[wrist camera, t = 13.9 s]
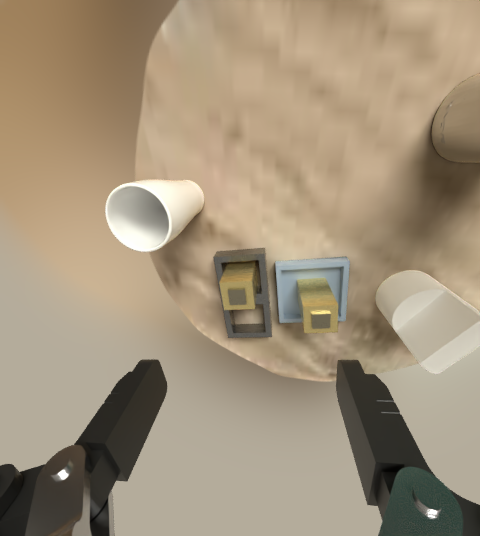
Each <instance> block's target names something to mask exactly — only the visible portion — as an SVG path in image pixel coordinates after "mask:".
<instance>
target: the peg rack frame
mask: <svg viewBox="0 0 480 536" xmlns="http://www.w3.org/2000/svg"><path fill="white" fill-rule="evenodd" d="M252 260H259V268H260V278H261V286H260V287H257V295H256V304H263V308H264V318H265V324H237V325H235V323H234V317H233V311H232V310H224V306H223V301H222V306H223V311H224V317H225V322H226V328H227V333H228V338H238V337H272V323H271V311H270V300H269V288H268V276H267V265H266V253H265V248H258V249H245V250H232V251H219V252H216V254H215V256H214V262H215V268H216V273H217V279H218V284H219V282H220V280H221V278H222V275H223V273H224V271H225V262H237V261H252ZM219 290H220V295H221V289H220V284H219ZM221 300H222V295H221Z"/></svg>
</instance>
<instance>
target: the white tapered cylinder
mask: <svg viewBox="0 0 480 536" xmlns="http://www.w3.org/2000/svg"><path fill="white" fill-rule="evenodd" d="M203 205H204V195H203V192H202V190H201V188H200V187H199V186H198V185H197V184H196V183H194V182H192V181H189V180H180V181H177V180H155V179H151V180H141V181H135V182H131V183H128V184H123V185H121V186H118V187H117V188H115V189H114V190H113V191H112V192H111V194H110V195H109V197H108V199H107V202H106V208H105V211H106V213H105V214H106V219H107V223H108V225H109V227H110V230H111V231H112V233H113V234H114V236H115V237H116V238H117V239H118V240H119V241H120V242H121V243H122V244H124V245H125V246H127V247H128V248H130V249H132V250H135V251H139V252H152V251H156V250H158V249H160V248H161V247H163V246H164V245H166V244H168V243H169V242H170V241H172V240H173V239H174V238H175V237H177V236H178V235H179V234H180V233H181V232H182V231H183V229H184V228H185V227H186V226H187V225H188V224H189V222H190V221H191V220H192V219H193V218H194V217H195V216H196V215H197V214H198V213H199V212H200V211H201V210H202V208H203Z"/></svg>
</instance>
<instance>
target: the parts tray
mask: <svg viewBox="0 0 480 536" xmlns="http://www.w3.org/2000/svg"><path fill="white" fill-rule="evenodd" d="M275 263H276V279H277V293H278V308H279V322H280V323H295V322H302V319H301V314H300V309H299V304H298V289H297V280H298V279H312V278H326V280H327V282H328V284H329V286H330V288H331V290H332V293H333V295H334V297H335V299H336V301H337V303H338V321H346V307H347V293H348V279H349V265H350V261H349V260H348V258H347V257H335V258H320V259H306V260H291V261H276V262H275Z"/></svg>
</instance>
